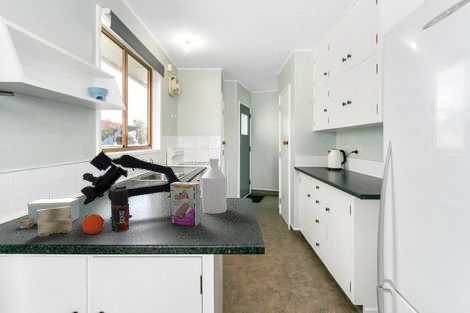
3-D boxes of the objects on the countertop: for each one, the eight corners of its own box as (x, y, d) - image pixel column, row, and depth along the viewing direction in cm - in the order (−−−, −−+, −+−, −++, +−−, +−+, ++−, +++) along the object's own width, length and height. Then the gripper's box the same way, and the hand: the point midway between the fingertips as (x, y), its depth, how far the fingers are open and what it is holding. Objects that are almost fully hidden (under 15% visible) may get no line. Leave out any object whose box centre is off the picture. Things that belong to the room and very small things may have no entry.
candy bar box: (170, 224, 101) (169, 183, 100) (176, 220, 105) (176, 181, 104) (195, 227, 97) (194, 184, 96) (201, 223, 102) (200, 182, 101)
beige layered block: (71, 227, 97) (70, 204, 97) (72, 231, 93) (71, 207, 93) (38, 233, 91) (37, 209, 91) (38, 237, 87) (36, 212, 87)
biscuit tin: (79, 217, 112) (78, 198, 111) (71, 222, 104) (70, 202, 104) (40, 219, 110) (38, 199, 109) (28, 224, 102) (27, 203, 102)
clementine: (75, 235, 90) (74, 215, 89) (92, 228, 96) (92, 210, 96) (92, 237, 87) (91, 217, 86) (108, 231, 93) (108, 212, 93)
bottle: (214, 215, 112) (213, 159, 111) (196, 210, 120) (195, 158, 119) (232, 209, 121) (231, 158, 120) (214, 206, 129) (214, 157, 128)
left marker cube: (33, 225, 101) (33, 218, 100) (28, 227, 98) (28, 220, 97) (25, 225, 100) (25, 218, 100) (20, 228, 97) (19, 220, 97)
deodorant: (118, 233, 91) (116, 191, 90) (108, 230, 94) (107, 190, 94) (132, 228, 96) (131, 189, 95) (122, 225, 99) (121, 187, 99)
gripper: (104, 163, 117) (80, 187, 116) (84, 167, 98) (56, 196, 98) (123, 179, 118) (99, 203, 117) (106, 186, 99) (78, 215, 99)
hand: (84, 204), depth 108 cm, fingers closed
